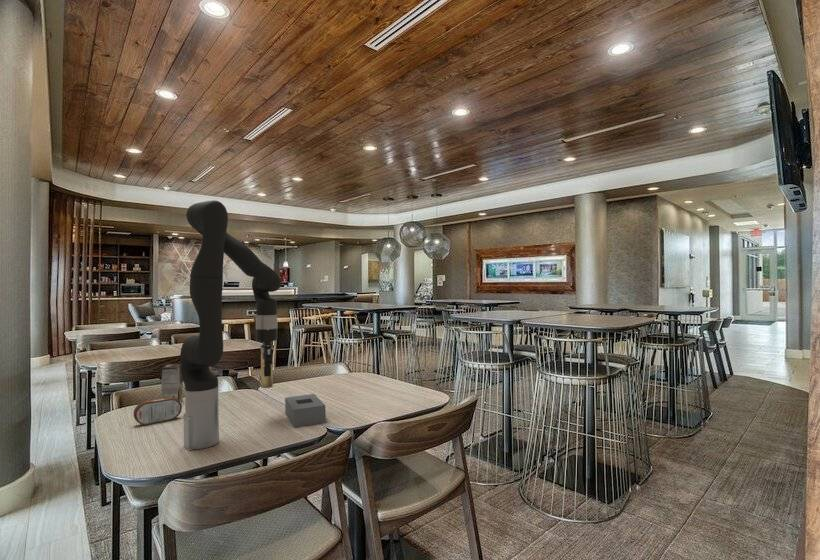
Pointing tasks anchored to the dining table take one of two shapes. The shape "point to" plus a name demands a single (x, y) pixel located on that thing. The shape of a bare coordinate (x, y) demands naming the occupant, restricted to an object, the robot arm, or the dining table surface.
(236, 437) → the dining table surface
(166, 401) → the tin
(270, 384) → the pin
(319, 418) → the socket block
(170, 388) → the coffee box
